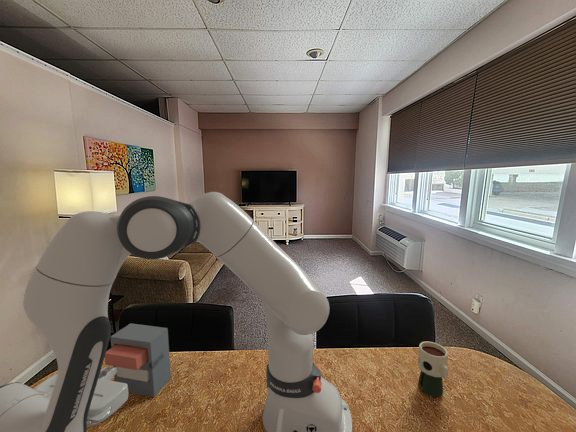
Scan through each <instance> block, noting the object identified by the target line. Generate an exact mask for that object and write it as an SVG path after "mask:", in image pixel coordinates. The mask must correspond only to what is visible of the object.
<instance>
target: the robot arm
mask: <svg viewBox="0 0 576 432" xmlns="http://www.w3.org/2000/svg"><path fill="white" fill-rule="evenodd" d="M194 243H199V244H200V245H202V246H203V247H205V248H206V249H207V250H208V251H209V252H210V253H212V255H213V256H215V258H217V259H218V260H219V261H220V262H221V263H222V264H224V265H225V266H226V268H228V269H229V270H230V271H231V272H232V273H233V274H235V276H236V277H238V278H239V279H240V280H241V281H242V282H243V283H244V284H245V285H246V286H247V287H248V289H249V290H250V291H251V292H252V293H253V294H254V295H255V296H256V297H257V298H258V299H259V301H261V302H262V303H263V309H264V318H265V324H266V333H267V345H268V346H267V353H268V359H267V360H268V362H267V365H266V370H265V371H266V375H265V376H266V377H265V379H266V388H267V393H266V400H265V405H264V408H263V412H262V423H263V427H264V429H265V432H353V420H352V414H351V411H350V408H349V405H348V404H347V402H346V401H345V400H344V399H343V398H341V395H340V392H339V390H338V388H337V387H336V386H335V385H334V384H332V383H331V382H329V381H328V380H326V378H324V377H322V371H321V364H320V362H318V366H316V364H315V363H314V362H313V359H314V356H313V355H314V338H313V337H314V336H313V334H314V333H316V332H318V331H320V330H321V329H322V328H323V326H325V324H326V323H327V320H328V318H329V315H330V303H329V299H328V298H327V296H326V294H325V293H324V290H322V288H321V287H320V286H319V285H318V284H317V282H316V281H315V280H314V279H313V278H311V277H312V276H310V275H309V274H308V273H307V272H306V271H305V270H304V269H303V268H302V267H301V266H300V265H299V264H298V263H297V262H296V261H295V260H294V259H292V258H291V257H290V255H288V254H287V253H286V252H285V251H284V249H282V248H281V247H280V246H279V245H278V244H277V243H276V241H274V240H273V238H272V237H270V236H269V235H268V234H267V233H266V231H264V229H262V228H261V226H260V225H259V224H258V223H257V222H256V221H255V220H254V219H253V218H252V217H251V216H250V215H249V214H248V213H247V212H246V211H244V209H243V208H242V207H240V206H239V205H238V204H236V203H235V202H234V201H233V200H232V199H230V198H228V197H227V196H225V194H223V193H221V192H218V191H210V192H205V193H204V194H203V193H202V194H201V195H200V196H198V197H197V198H195V200H193V201H192V202H191V201H190V203H187V202H183V201H179V200H176V199H173V198H171V197H168V196H165V195H157V194H155V195H149V196H143V197H140V198H138V199H137V198H136V199H135V200H133V201H132V202H131V203H129V204H128V205H127V206H126V207H124V209H123V210H122V211H121V213H120V215H114V214H111V213H110V214H109V213H107V212H102V211H94V210H93V211H87V210H86V211H81V212H78V213H76V214H73V215H72V216H71V217H69V219H68V220H67V221H66V222H65V223H64V224H63V225H62V227H60V229H59V231H57V233H56V234H55V235H54V237H53V239H51V241H50V242H49V244H48V246H47V247H46V248H45V250H44V252H43V254H42V255H41V257H40V258H39V260H38V263H37V264H36V266H35V267H34V270H33V272H32V273H31V276H30V277H29V279H28V282H27V284H26V286H25V290H24V295H23V304H22V306H23V309H24V312H25V314H26V316H27V318H28V320H29V321H30V322H31V324H33V326H34V327H35V328H36V329H37V330H38V332H39V333H40V334H41V335H42V336H43V338H44V339H45V340H46V342H47V343H48V346H49V347H50V348H51V350H52V352H53V354H54V355H55V359H56V363H57V373H55V374H53V375H51V376H49V377H48V378H46V379H45V380H43V381H42V382H40V383H38V384H37V385H36V386H34V387H33V388H32V387H30V386H28V385H26V384H23V383H21V382H20V381H19V382H18V381H16V382H10V383H6V384H3V385H1V386H0V432H87V428H90V427H91V426H95V425H97V424H98V425H99V424H101V423H102V422H104V421H105V420H106V419H108V418H109V417H111V415H113V414H114V413H115V412H116V411H118V409H120V408H121V407H122V406H123V405H125V404H126V402H127V401H128V400H129V392H128V385H127V384H126V383H121V382H116V381H115V380H112V378H113V377H114V375H115V374H116V373H117V368H115V367H113V366H110V365H105V366H103V364H104V362H105V354H106V351H108V347H109V342H110V340H111V338H110V337H111V332H112V331H111V330H112V327H111V322H110V320H109V310H108V307H109V298H110V293H111V289H112V286H113V284H114V282H115V280H116V278H117V275H118V274H119V272H120V269H121V267H122V266H123V264H124V263H125V261H126V260H127V259H128V257H129V256H131V255H133V256H134V257H136V258H139V259H143V260H151V261H152V260H159V259H163V258H166V257H170V256H171V255H173V254H175V253H177V252H179V251H181V250H182V249H185V248H186V247H189V246H190V245H192V244H194ZM102 367H103V368H102Z"/></svg>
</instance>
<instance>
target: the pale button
mask: <svg viewBox="0 0 576 432" xmlns="http://www.w3.org/2000/svg"><path fill="white" fill-rule="evenodd" d="M116 368H117V376H118V377H123V378H129V379H134V380H140V381H145V382H148V381H149V380H150V377H149V368H143V367H140V368H139V369H138V370H133V369H127V368H121V367H116Z"/></svg>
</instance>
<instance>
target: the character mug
mask: <svg viewBox="0 0 576 432" xmlns="http://www.w3.org/2000/svg"><path fill="white" fill-rule="evenodd" d="M448 360H449V352H448V350H447V349H446V347H444V346H442V345H441V344H439V343H436V342H433V341H421V342H420V343H419V345H418V358H417V365H418V366H417V367H418V368H419V371H420V373H419V378H418V382H417V387H418V389H420V387H421V392H422V393H423V394H424V395H426V396H428V397H430V398H439V397H442V396H443V393H444V384H443V379H446V380H447V379H448V377H449V368H448Z"/></svg>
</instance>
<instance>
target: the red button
mask: <svg viewBox="0 0 576 432" xmlns="http://www.w3.org/2000/svg"><path fill="white" fill-rule="evenodd" d="M147 361H148V351H147V348H141V347H134V346H127V345H121V344H116V345H115V346H113V347H112V348H109V349H107V350H106V354H105V357H104V365H105V366H109V367H113V366H116V367H121V368H127V369H133V370H138V369H139V368H140V367H141V366H142V365H143V364H144V363H145V362H147Z"/></svg>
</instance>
